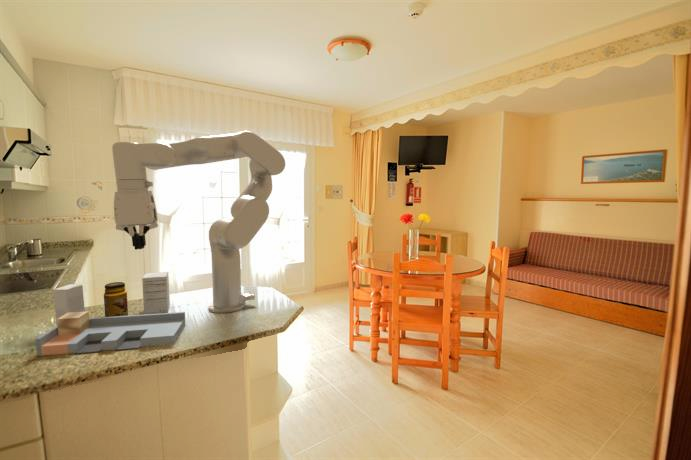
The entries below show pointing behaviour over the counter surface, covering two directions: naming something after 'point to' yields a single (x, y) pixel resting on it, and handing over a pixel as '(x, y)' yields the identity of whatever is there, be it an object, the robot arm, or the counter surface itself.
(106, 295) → the condiment
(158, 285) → the supplement box
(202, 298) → the counter surface
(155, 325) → the board
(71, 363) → the counter surface
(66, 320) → the block
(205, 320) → the counter surface
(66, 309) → the skincare box
